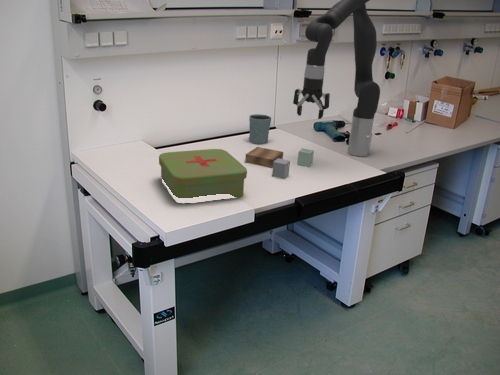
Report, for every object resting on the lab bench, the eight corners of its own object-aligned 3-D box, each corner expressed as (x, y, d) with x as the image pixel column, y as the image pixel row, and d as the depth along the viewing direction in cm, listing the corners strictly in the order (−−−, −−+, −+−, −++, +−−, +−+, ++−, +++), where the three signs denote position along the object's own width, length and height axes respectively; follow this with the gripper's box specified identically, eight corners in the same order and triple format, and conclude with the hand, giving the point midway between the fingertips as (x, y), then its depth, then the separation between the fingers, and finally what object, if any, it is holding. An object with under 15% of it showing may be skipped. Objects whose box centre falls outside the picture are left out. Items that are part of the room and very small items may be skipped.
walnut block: (282, 160, 209) (283, 151, 207) (271, 169, 198) (272, 159, 197) (256, 155, 213) (257, 146, 211) (245, 163, 203) (245, 154, 201)
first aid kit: (175, 207, 159) (175, 178, 156) (156, 178, 181) (156, 152, 178) (249, 198, 170) (251, 171, 166) (222, 172, 192) (223, 147, 188)
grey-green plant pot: (244, 142, 228) (246, 117, 223) (252, 137, 237) (254, 112, 232) (265, 146, 225) (267, 120, 220) (272, 140, 233) (274, 116, 229)
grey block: (288, 175, 192) (290, 160, 190) (284, 179, 188) (285, 164, 186) (276, 172, 194) (278, 158, 192) (272, 176, 190) (273, 161, 188)
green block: (312, 163, 206) (313, 150, 204) (308, 167, 202) (310, 153, 200) (301, 161, 208) (302, 148, 206) (297, 165, 204) (298, 151, 201)
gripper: (334, 77, 192) (329, 118, 198) (300, 72, 197) (296, 112, 203) (328, 80, 185) (323, 121, 192) (293, 75, 191) (289, 116, 197)
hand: (309, 116), depth 197 cm, fingers open, 8 cm apart
